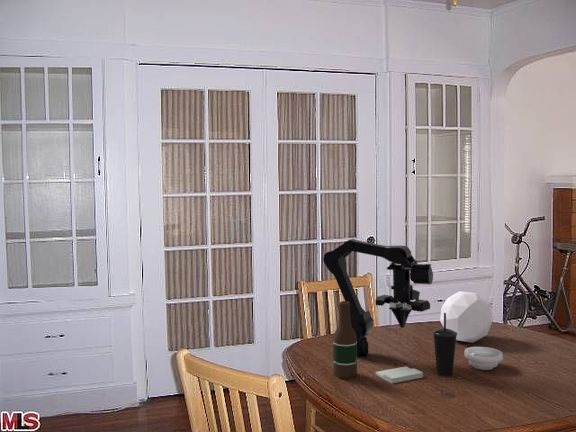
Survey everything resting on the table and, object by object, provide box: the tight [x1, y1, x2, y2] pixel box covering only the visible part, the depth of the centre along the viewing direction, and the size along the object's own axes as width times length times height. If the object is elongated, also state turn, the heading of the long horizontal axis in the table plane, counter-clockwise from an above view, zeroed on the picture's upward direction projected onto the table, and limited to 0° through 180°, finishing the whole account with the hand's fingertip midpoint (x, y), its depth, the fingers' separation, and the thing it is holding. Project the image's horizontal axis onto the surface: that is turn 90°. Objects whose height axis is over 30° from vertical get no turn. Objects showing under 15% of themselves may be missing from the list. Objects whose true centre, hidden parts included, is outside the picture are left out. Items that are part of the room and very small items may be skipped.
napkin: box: [375, 366, 424, 384], centre depth 181 cm, size 12×9×2 cm
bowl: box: [464, 346, 504, 371], centre depth 188 cm, size 12×12×5 cm
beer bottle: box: [332, 300, 358, 380], centre depth 182 cm, size 8×8×24 cm
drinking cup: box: [432, 313, 457, 377], centre depth 181 cm, size 8×8×20 cm
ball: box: [439, 290, 494, 343], centre depth 217 cm, size 19×20×20 cm
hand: (402, 327), depth 194 cm, fingers closed
